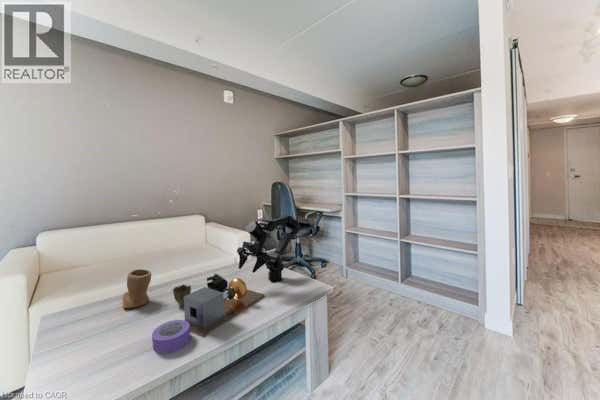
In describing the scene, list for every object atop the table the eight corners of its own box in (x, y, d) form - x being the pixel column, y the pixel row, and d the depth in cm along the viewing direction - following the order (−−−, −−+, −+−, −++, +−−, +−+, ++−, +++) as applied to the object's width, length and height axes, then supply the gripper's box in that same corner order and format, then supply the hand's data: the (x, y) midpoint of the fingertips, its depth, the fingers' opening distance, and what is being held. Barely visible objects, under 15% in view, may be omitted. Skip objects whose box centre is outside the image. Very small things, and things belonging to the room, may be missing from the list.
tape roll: (160, 359, 81) (159, 344, 81) (147, 343, 89) (146, 330, 89) (196, 341, 90) (195, 327, 90) (181, 328, 98) (181, 316, 98)
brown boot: (153, 304, 116) (151, 273, 115) (121, 312, 110) (118, 278, 108) (151, 292, 129) (150, 263, 127) (123, 298, 122) (121, 268, 121)
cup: (195, 302, 118) (194, 285, 118) (183, 309, 111) (182, 292, 111) (182, 299, 121) (181, 283, 120) (170, 307, 114) (169, 289, 113)
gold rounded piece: (232, 294, 121) (232, 276, 120) (247, 299, 116) (246, 280, 116) (202, 311, 106) (202, 290, 105) (218, 317, 102) (217, 295, 101)
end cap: (228, 290, 130) (227, 278, 129) (214, 295, 125) (214, 281, 125) (220, 284, 137) (219, 272, 137) (206, 288, 133) (206, 275, 132)
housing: (242, 290, 130) (242, 268, 129) (264, 296, 123) (263, 273, 122) (178, 325, 99) (177, 297, 98) (202, 336, 92) (201, 306, 91)
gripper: (237, 232, 130) (222, 260, 123) (265, 236, 120) (250, 267, 113) (249, 242, 138) (236, 269, 131) (276, 247, 128) (264, 276, 120)
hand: (246, 270), depth 123 cm, fingers open, 9 cm apart
